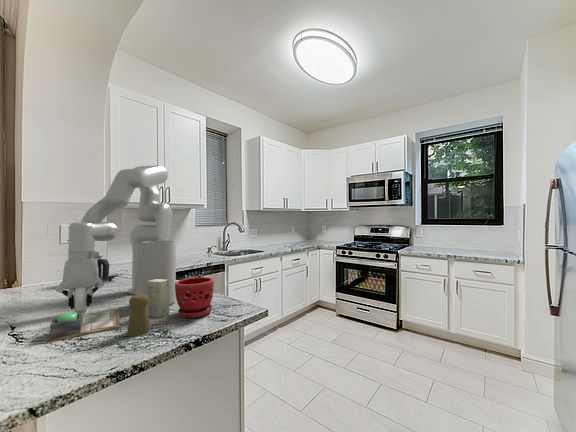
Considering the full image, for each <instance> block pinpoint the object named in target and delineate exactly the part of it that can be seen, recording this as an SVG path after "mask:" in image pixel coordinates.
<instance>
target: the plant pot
mask: <svg viewBox="0 0 576 432" xmlns="http://www.w3.org/2000/svg"><path fill="white" fill-rule="evenodd" d="M213 297H214V278H211V277H208V276H207V277H204V276H203V277H199V276H198V277H190V278H184V279H180V280H178V281H176V282H175V301H176V303H177V305H178V307H179V309H178V310H177V313H178V314H179V315H180V316H182V317H183V318H186V319H187V318H199V317H203V316H205V315H207V314H209V313H210V312H211V311H212V310H213V305H212V304H211V303H212V301H213Z"/></svg>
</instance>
